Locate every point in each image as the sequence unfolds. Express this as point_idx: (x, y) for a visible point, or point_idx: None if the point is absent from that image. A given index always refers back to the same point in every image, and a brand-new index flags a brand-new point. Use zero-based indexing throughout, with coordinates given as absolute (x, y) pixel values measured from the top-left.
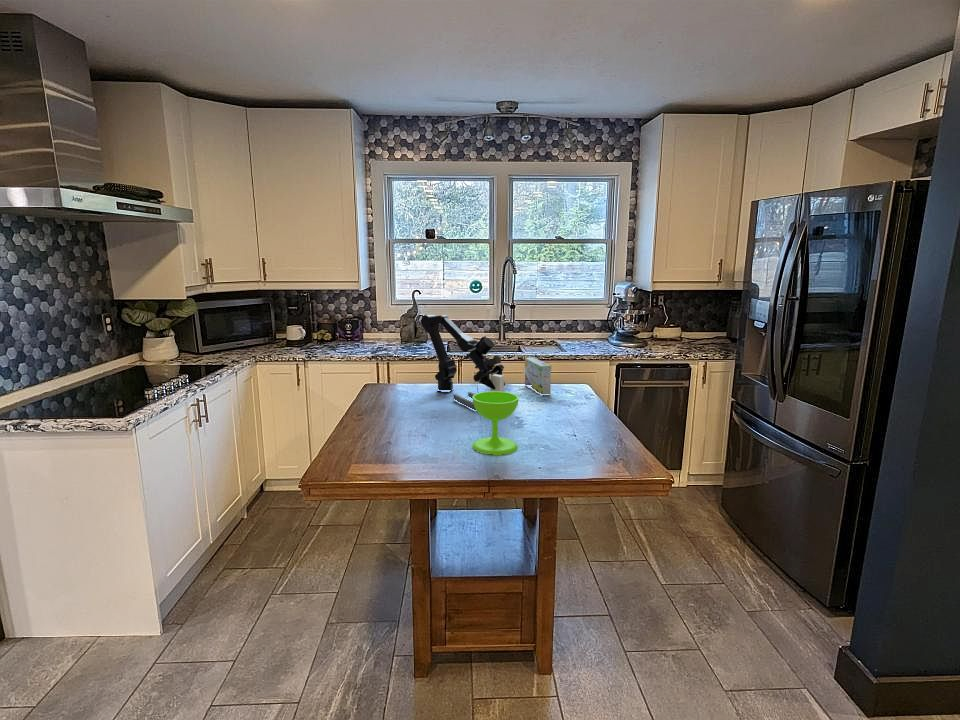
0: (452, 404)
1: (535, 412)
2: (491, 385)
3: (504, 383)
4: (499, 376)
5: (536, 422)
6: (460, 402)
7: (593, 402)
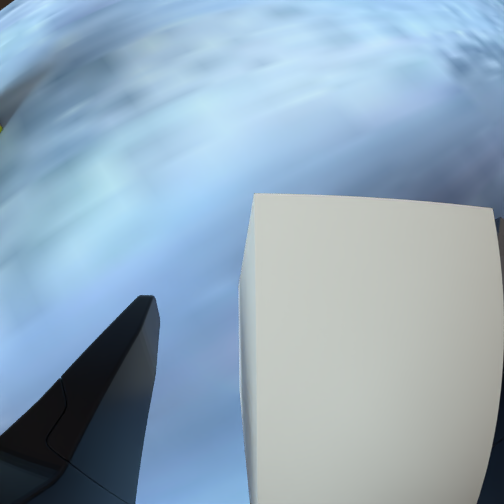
0: None
1: (341, 17)
2: None
3: (145, 305)
4: (473, 254)
5: (434, 9)
6: None
7: None
